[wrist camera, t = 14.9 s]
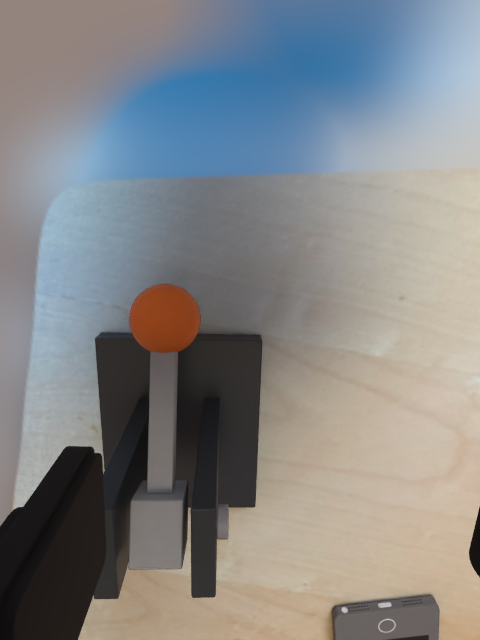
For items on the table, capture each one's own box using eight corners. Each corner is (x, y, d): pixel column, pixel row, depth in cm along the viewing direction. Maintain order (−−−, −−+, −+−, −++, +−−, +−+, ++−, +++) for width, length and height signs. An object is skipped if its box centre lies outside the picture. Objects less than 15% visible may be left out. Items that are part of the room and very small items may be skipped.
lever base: (100, 332, 24) (5, 419, 14) (260, 334, 25) (286, 421, 14) (112, 496, 27) (41, 669, 17) (254, 495, 28) (271, 664, 17)
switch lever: (138, 288, 19) (121, 278, 16) (203, 289, 19) (198, 279, 16) (131, 536, 19) (112, 576, 15) (198, 535, 19) (193, 575, 16)
